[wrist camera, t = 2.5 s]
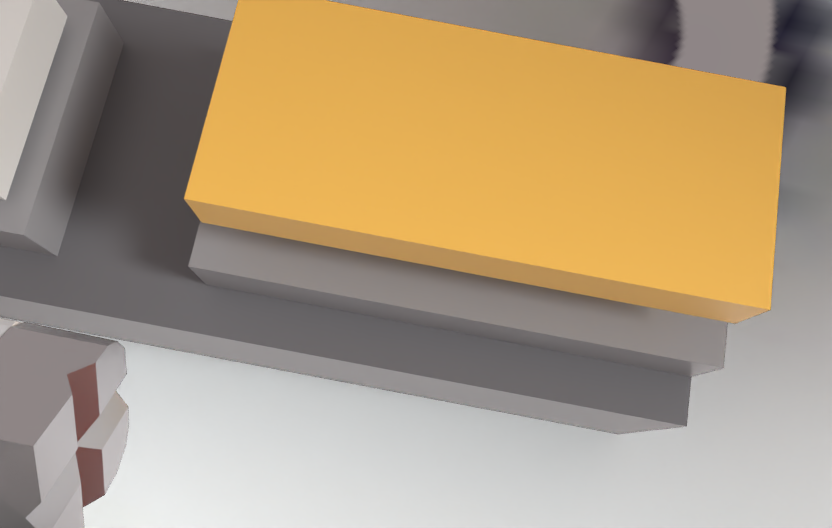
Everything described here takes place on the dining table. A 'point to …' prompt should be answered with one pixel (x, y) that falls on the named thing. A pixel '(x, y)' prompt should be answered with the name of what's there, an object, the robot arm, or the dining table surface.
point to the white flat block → (23, 72)
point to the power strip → (250, 331)
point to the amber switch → (494, 156)
